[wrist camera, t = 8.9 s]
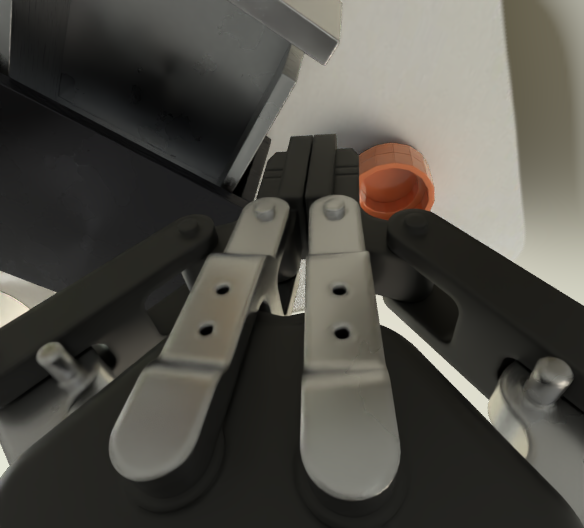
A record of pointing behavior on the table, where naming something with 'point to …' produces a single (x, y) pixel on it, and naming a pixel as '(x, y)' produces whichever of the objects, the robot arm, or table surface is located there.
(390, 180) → the dish
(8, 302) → the cylinder with rectangular tab
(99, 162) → the box
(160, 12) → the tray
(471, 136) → the table surface
